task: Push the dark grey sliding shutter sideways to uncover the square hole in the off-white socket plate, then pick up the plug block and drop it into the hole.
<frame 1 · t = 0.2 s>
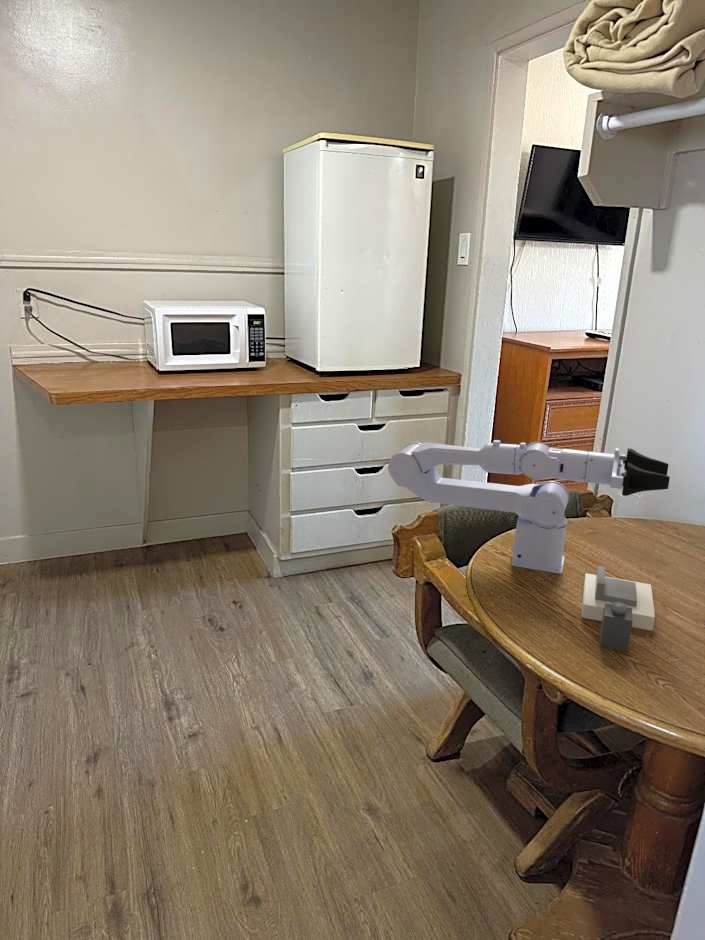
hand: (668, 476, 118), 21 cm above the table, tool horizontal, fingers open, 7 cm apart
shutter: (616, 585, 115), point 4 cm above the table, slide at 0.0 cm
socket plate: (615, 606, 116), on the table
plug: (613, 642, 106), on the table
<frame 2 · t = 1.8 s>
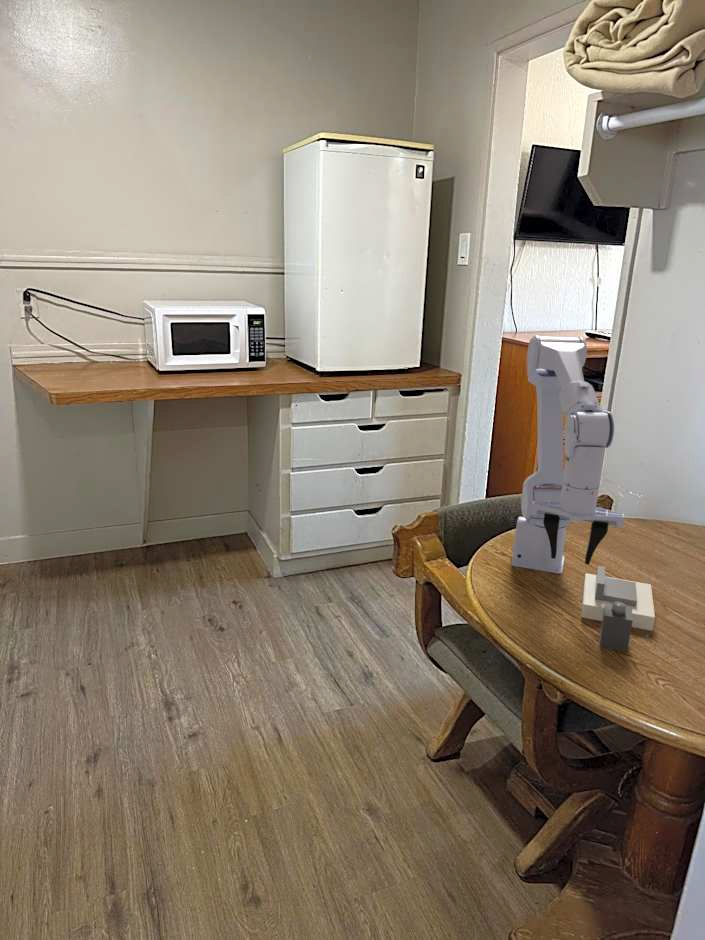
hand: (570, 558, 114), 8 cm above the table, tool pointing down, fingers open, 5 cm apart
nothing on the table moved.
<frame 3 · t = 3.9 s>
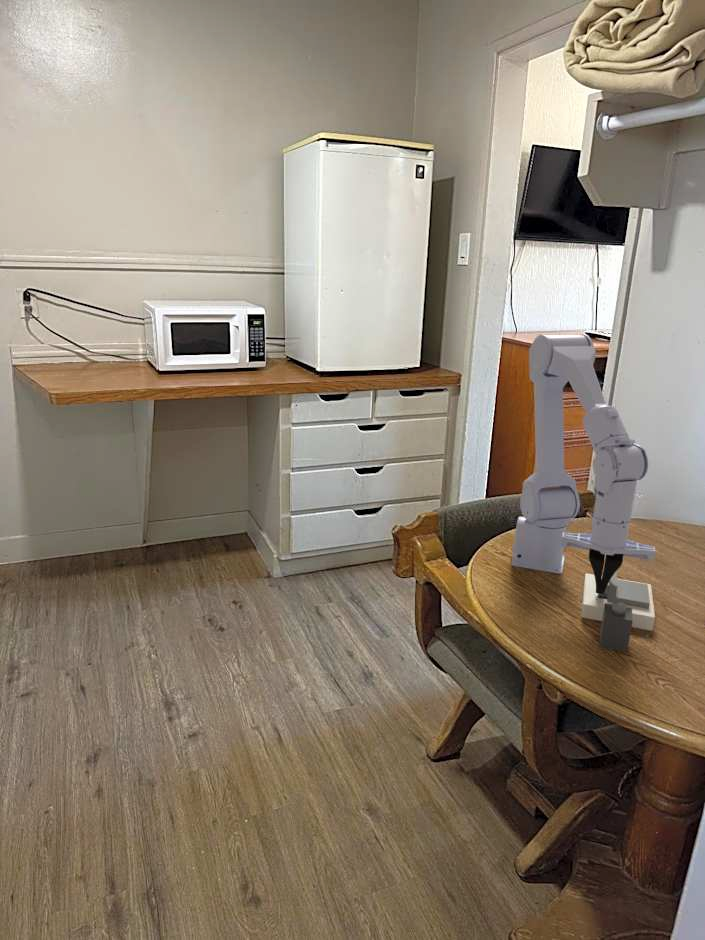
hand: (599, 591, 114), 3 cm above the table, tool pointing down, fingers closed
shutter: (628, 587, 114), point 4 cm above the table, slide at 2.0 cm, touching gripper
everything else where it was.
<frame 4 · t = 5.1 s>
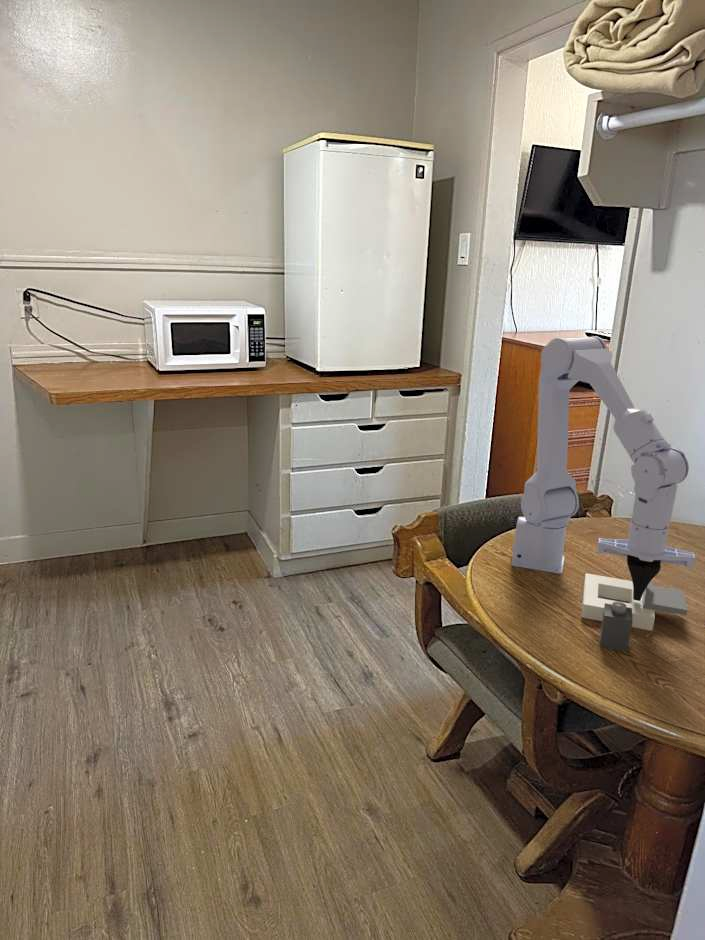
hand: (636, 597, 112), 3 cm above the table, tool pointing down, fingers closed
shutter: (664, 593, 113), point 4 cm above the table, slide at 7.6 cm, touching gripper
everything else where it was.
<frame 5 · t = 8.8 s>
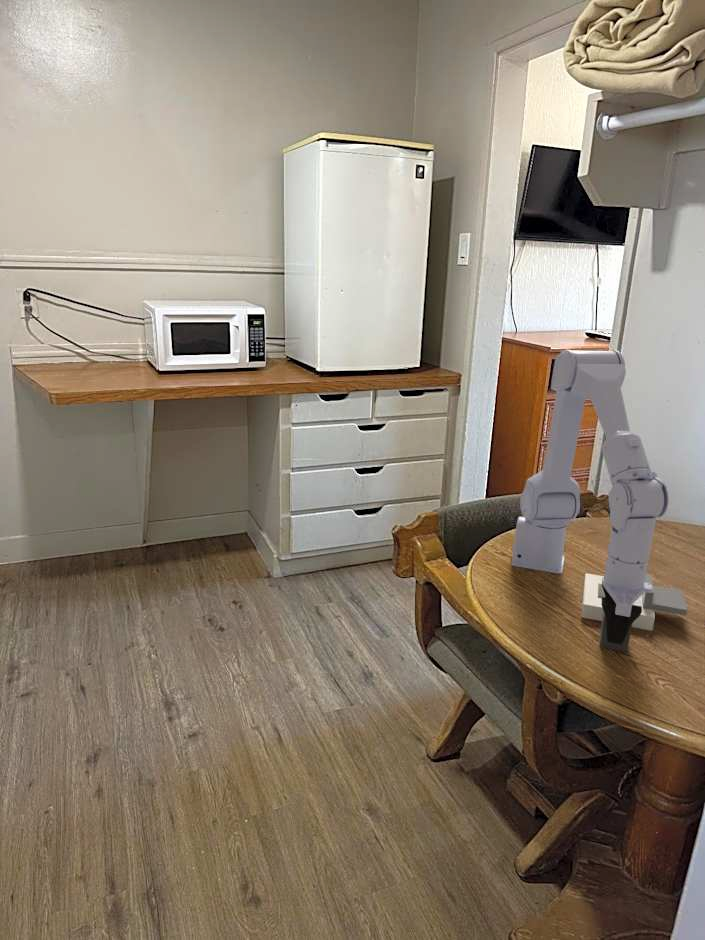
hand: (614, 634, 105), 1 cm above the table, tool pointing down, fingers closed on plug, 4 cm apart
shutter: (664, 593, 113), point 4 cm above the table, slide at 7.5 cm
plug: (613, 642, 106), on the table, touching gripper
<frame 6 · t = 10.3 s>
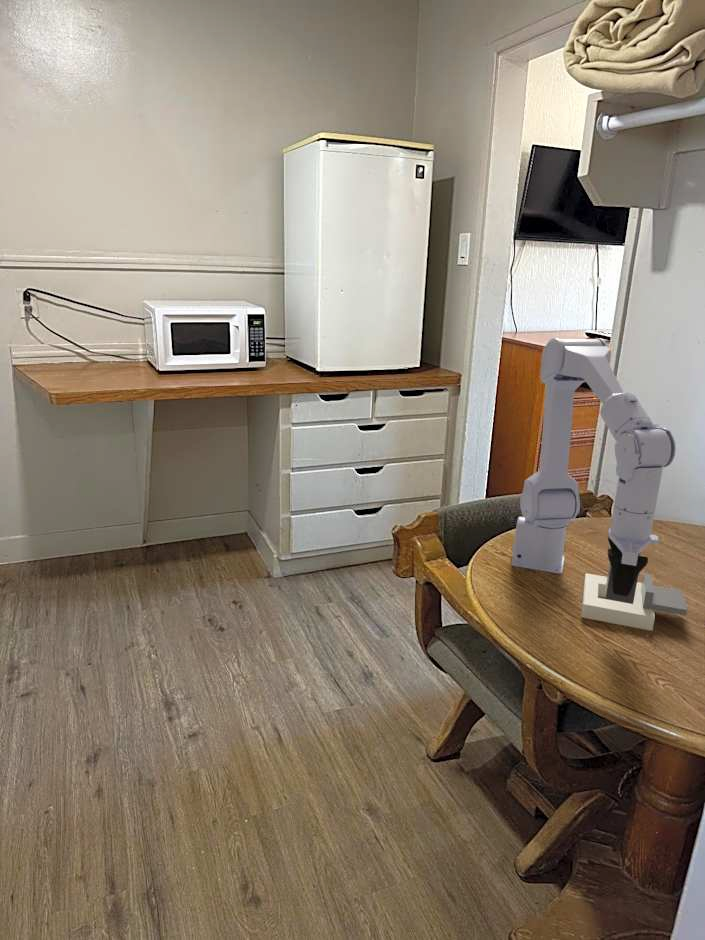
hand: (620, 587, 105), 8 cm above the table, tool pointing down, fingers closed on plug, 4 cm apart
plug: (619, 595, 106), point 7 cm above the table, touching gripper
everything else where it was.
when the fingers open (4 cm above the table, at t = 12.0 s): plug drops 3 cm, resting in socket plate.
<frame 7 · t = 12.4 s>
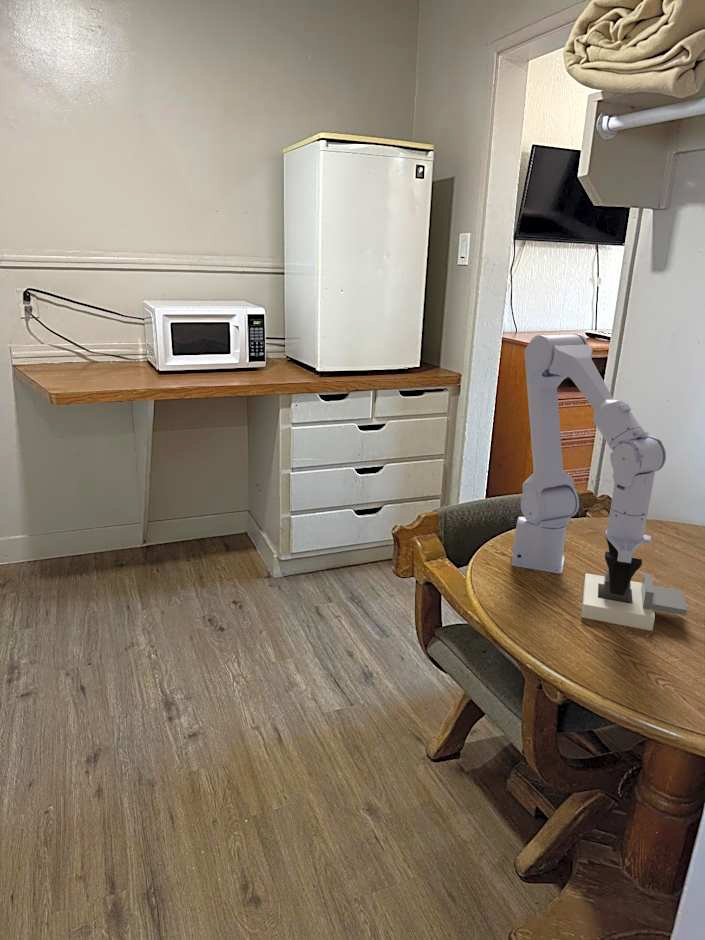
hand: (616, 583, 115), 4 cm above the table, tool pointing down, fingers open, 7 cm apart
plug: (613, 606, 116), resting in socket plate
everything else where it was.
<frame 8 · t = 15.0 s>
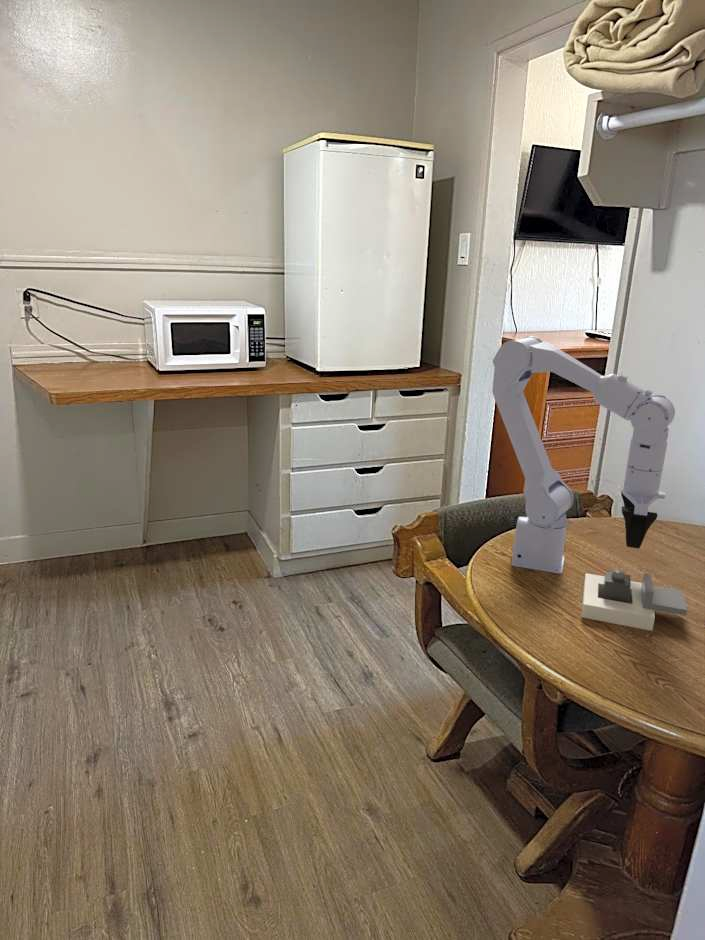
hand: (632, 538, 121), 9 cm above the table, tool pointing down, fingers open, 7 cm apart
nothing on the table moved.
at the end: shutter slide at 7.5 cm; plug 0.0 cm from the target spot, resting in socket plate; plug tilted 0° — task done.
